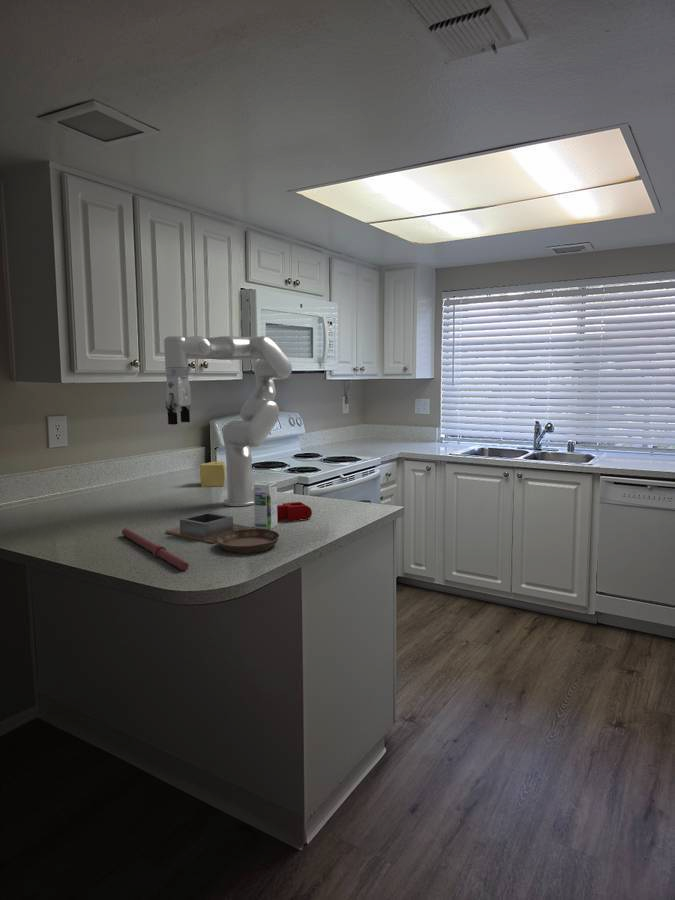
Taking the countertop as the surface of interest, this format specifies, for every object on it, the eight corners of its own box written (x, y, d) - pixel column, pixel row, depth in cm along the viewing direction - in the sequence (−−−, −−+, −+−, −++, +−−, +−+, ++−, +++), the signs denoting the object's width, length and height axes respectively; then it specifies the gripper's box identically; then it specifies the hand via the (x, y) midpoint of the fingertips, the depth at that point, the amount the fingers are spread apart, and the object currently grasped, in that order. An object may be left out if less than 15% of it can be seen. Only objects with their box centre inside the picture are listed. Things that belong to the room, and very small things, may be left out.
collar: (209, 521, 207) (209, 507, 206) (257, 530, 194) (257, 515, 193) (165, 533, 193) (165, 517, 192) (214, 543, 179) (213, 527, 179)
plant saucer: (245, 559, 164) (245, 548, 164) (204, 548, 176) (204, 537, 176) (292, 545, 178) (292, 534, 177) (251, 535, 189) (251, 525, 189)
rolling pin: (190, 571, 155) (190, 559, 155) (179, 573, 154) (178, 561, 153) (130, 535, 191) (129, 525, 191) (120, 537, 189) (119, 527, 189)
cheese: (202, 483, 283) (202, 461, 281) (226, 482, 284) (226, 461, 283) (200, 487, 272) (199, 464, 271) (225, 486, 274) (224, 464, 272)
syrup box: (253, 528, 197) (252, 483, 195) (262, 524, 202) (261, 480, 200) (270, 530, 195) (268, 484, 193) (278, 525, 200) (277, 481, 198)
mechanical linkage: (305, 515, 215) (304, 501, 215) (312, 519, 209) (311, 505, 208) (260, 519, 209) (260, 505, 209) (266, 524, 203) (265, 509, 202)
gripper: (175, 373, 202) (178, 425, 204) (197, 372, 219) (199, 421, 221) (154, 373, 203) (157, 425, 205) (178, 373, 220) (180, 421, 222)
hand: (179, 423), depth 213 cm, fingers open, 9 cm apart
